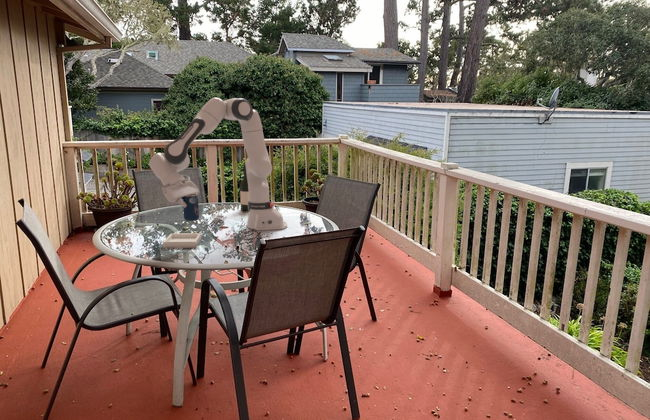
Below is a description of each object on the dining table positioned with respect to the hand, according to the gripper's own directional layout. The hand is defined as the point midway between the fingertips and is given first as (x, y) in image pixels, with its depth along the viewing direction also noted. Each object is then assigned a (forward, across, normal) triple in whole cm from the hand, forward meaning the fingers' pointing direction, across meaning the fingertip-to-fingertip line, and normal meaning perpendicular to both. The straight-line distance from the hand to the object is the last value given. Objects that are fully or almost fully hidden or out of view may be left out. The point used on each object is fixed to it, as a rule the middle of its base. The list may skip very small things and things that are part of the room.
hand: (191, 205), depth 233 cm
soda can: (+5, 0, +6) cm, 8 cm away
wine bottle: (+2, +78, +25) cm, 82 cm away
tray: (+10, +1, +18) cm, 21 cm away
